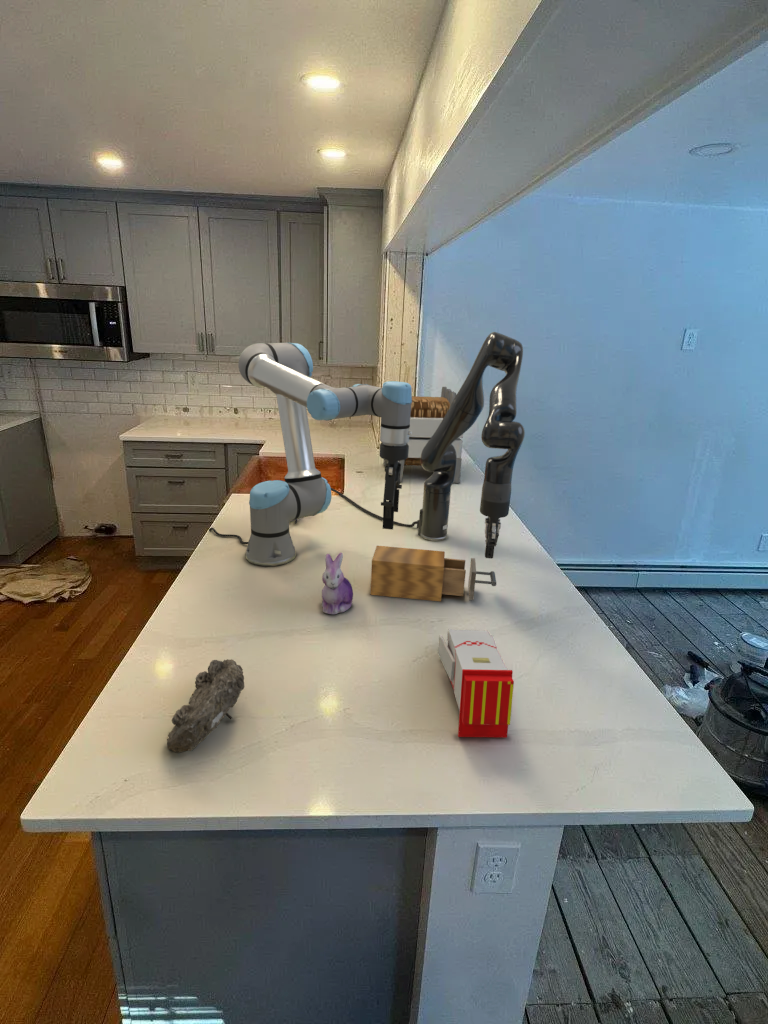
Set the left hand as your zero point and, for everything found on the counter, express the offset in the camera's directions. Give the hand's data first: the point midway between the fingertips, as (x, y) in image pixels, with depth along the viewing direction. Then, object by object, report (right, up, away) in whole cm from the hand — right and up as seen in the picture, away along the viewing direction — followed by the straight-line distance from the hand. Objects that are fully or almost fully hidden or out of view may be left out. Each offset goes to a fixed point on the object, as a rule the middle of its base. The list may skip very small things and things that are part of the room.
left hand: (390, 519), depth 154 cm
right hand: (+27, -10, 0) cm, 29 cm away
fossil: (-35, -37, -46) cm, 68 cm away
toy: (+16, -36, -36) cm, 53 cm away
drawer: (+17, -20, +5) cm, 27 cm away
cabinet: (+5, -20, +6) cm, 21 cm away
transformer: (+15, +21, +121) cm, 124 cm away
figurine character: (-35, 0, +55) cm, 65 cm away
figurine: (-14, -23, -5) cm, 27 cm away
